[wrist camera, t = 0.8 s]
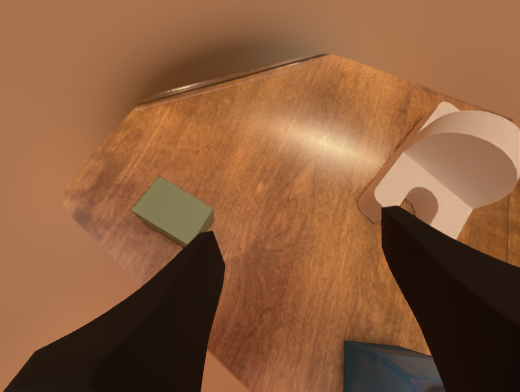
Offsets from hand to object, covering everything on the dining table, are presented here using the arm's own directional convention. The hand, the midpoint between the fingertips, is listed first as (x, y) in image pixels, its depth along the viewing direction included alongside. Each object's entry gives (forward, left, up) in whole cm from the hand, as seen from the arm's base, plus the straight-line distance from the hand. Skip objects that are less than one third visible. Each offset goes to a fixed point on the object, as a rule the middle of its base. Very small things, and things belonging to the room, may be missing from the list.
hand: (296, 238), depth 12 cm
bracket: (+21, -15, -19) cm, 32 cm away
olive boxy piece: (+1, +9, -19) cm, 20 cm away
